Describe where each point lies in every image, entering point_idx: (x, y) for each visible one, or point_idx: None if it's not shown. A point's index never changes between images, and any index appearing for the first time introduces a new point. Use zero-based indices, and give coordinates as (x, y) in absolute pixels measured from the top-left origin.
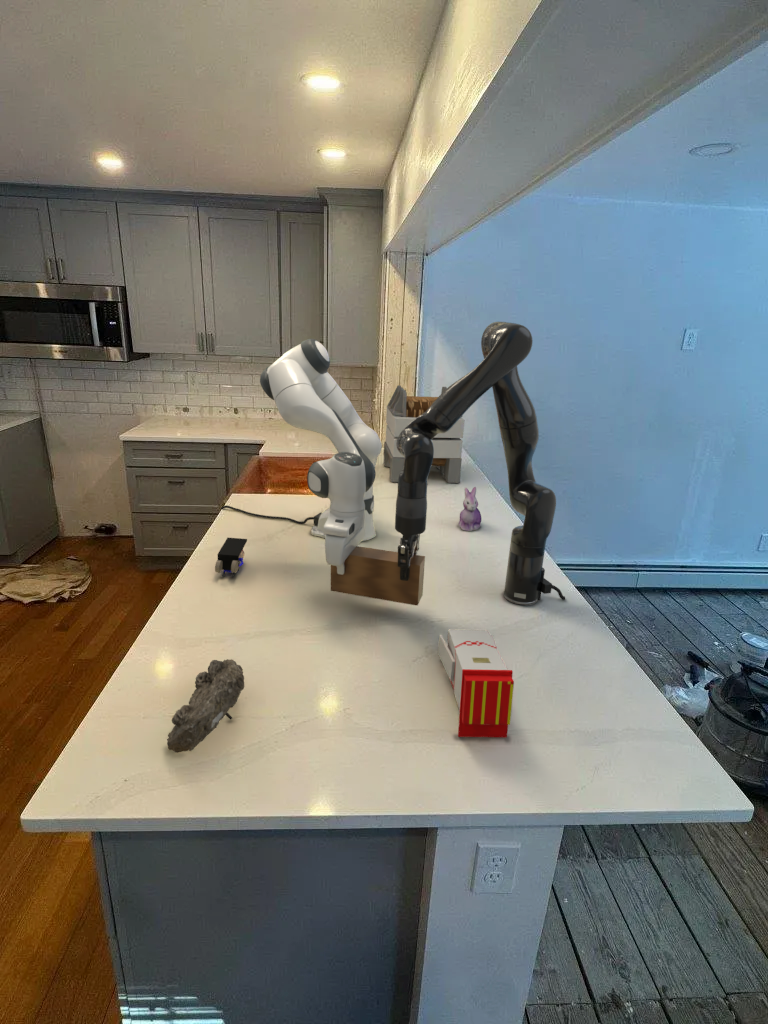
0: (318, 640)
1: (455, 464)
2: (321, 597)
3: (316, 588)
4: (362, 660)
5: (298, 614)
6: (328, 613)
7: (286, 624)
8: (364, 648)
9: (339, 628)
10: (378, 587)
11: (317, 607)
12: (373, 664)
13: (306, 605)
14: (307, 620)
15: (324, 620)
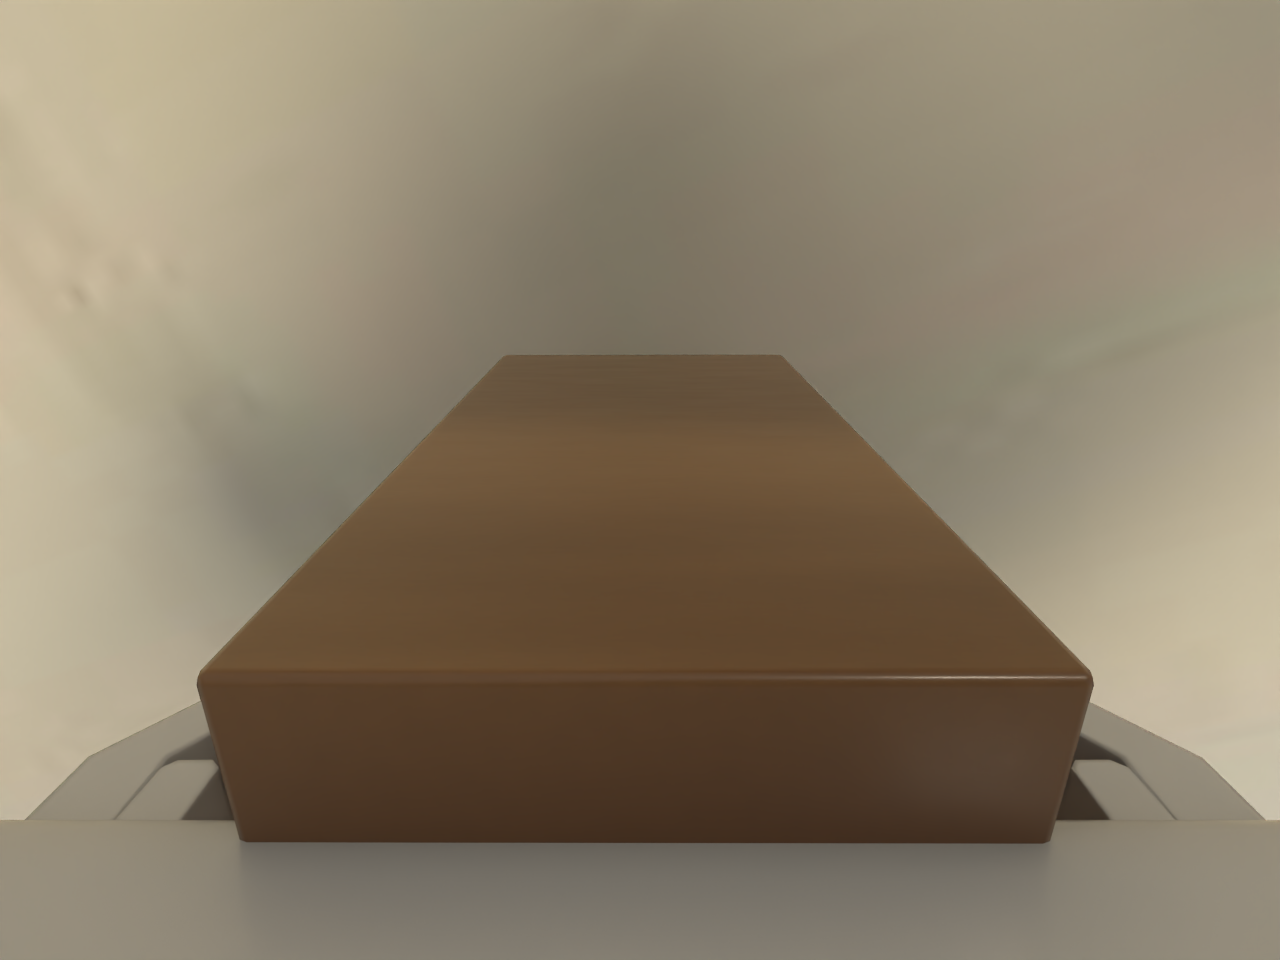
0: (16, 423)
1: None
2: (693, 153)
3: (878, 4)
4: (12, 751)
5: (273, 59)
6: (431, 343)
7: (42, 21)
8: (134, 728)
9: (261, 510)
10: None
11: (487, 197)
12: (20, 810)
13: (476, 61)
14: (225, 203)
15: (307, 354)
